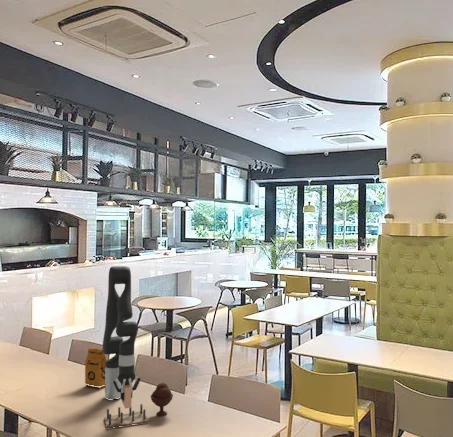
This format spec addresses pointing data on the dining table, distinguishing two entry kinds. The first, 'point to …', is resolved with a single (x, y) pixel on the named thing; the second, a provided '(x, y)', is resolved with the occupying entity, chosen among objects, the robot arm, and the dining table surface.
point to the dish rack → (125, 418)
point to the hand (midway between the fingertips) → (126, 399)
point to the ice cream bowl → (161, 398)
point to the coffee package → (95, 367)
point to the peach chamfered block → (127, 396)
